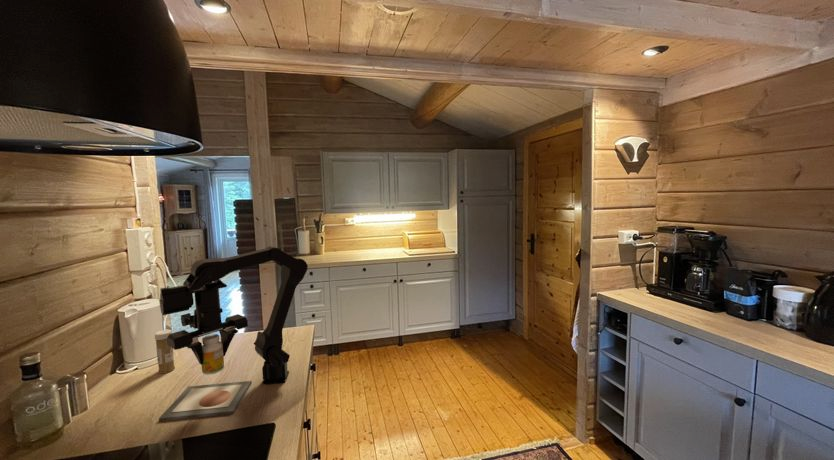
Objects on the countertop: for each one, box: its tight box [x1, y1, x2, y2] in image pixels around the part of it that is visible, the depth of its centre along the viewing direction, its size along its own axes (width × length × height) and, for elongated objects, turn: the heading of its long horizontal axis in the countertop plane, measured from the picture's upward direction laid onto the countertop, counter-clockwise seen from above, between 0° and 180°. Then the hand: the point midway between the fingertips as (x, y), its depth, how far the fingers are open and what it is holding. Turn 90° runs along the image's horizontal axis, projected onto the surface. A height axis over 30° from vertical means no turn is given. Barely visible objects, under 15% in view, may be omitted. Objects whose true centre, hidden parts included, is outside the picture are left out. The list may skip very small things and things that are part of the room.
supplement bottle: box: [201, 333, 225, 376], centre depth 95 cm, size 5×5×10 cm
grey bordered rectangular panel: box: [158, 380, 253, 422], centre depth 97 cm, size 18×15×1 cm
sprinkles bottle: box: [154, 329, 176, 374], centre depth 113 cm, size 5×5×13 cm
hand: (212, 359), depth 95 cm, fingers closed on supplement bottle, 5 cm apart
